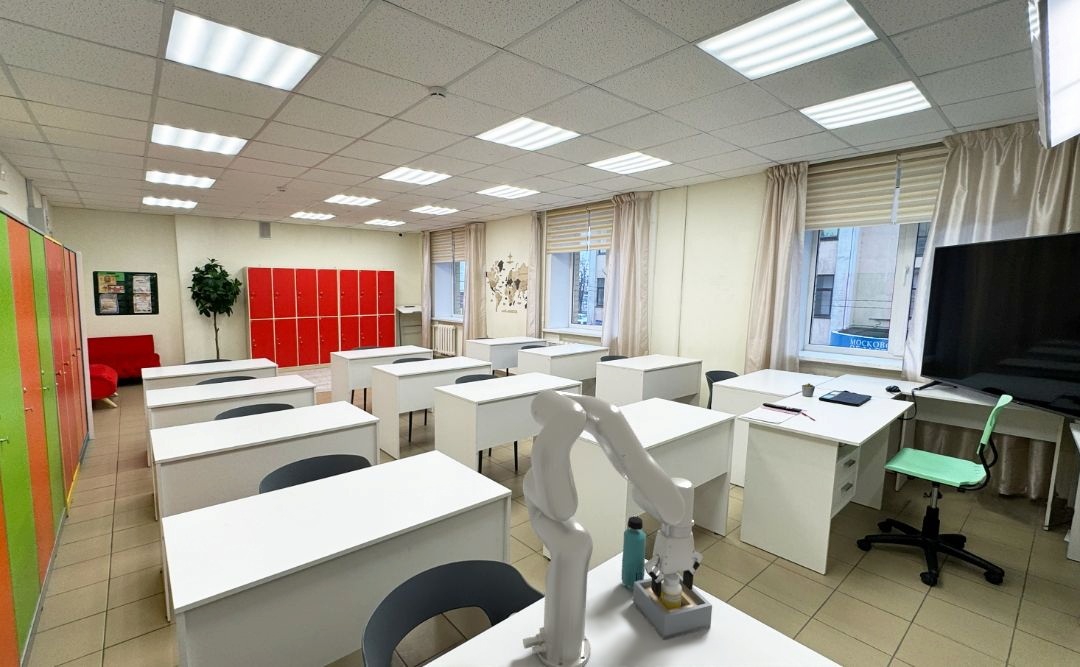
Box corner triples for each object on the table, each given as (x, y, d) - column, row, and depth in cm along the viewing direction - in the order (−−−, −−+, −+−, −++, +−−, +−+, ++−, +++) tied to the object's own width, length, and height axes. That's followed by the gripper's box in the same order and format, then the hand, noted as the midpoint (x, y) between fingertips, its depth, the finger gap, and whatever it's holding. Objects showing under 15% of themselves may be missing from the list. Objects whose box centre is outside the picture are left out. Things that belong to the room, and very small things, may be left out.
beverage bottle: (634, 596, 127) (638, 527, 125) (615, 584, 132) (619, 518, 130) (648, 587, 131) (652, 520, 129) (629, 576, 136) (633, 511, 134)
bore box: (663, 640, 111) (665, 616, 111) (632, 602, 124) (634, 581, 124) (710, 627, 116) (712, 605, 116) (676, 592, 129) (677, 572, 129)
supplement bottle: (661, 601, 124) (663, 567, 123) (682, 609, 121) (684, 573, 120) (656, 614, 119) (658, 578, 118) (678, 621, 116) (680, 585, 115)
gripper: (694, 515, 125) (690, 575, 126) (639, 524, 119) (635, 587, 120) (713, 529, 118) (708, 592, 119) (655, 540, 112) (651, 606, 113)
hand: (672, 590), depth 120 cm, fingers open, 9 cm apart
